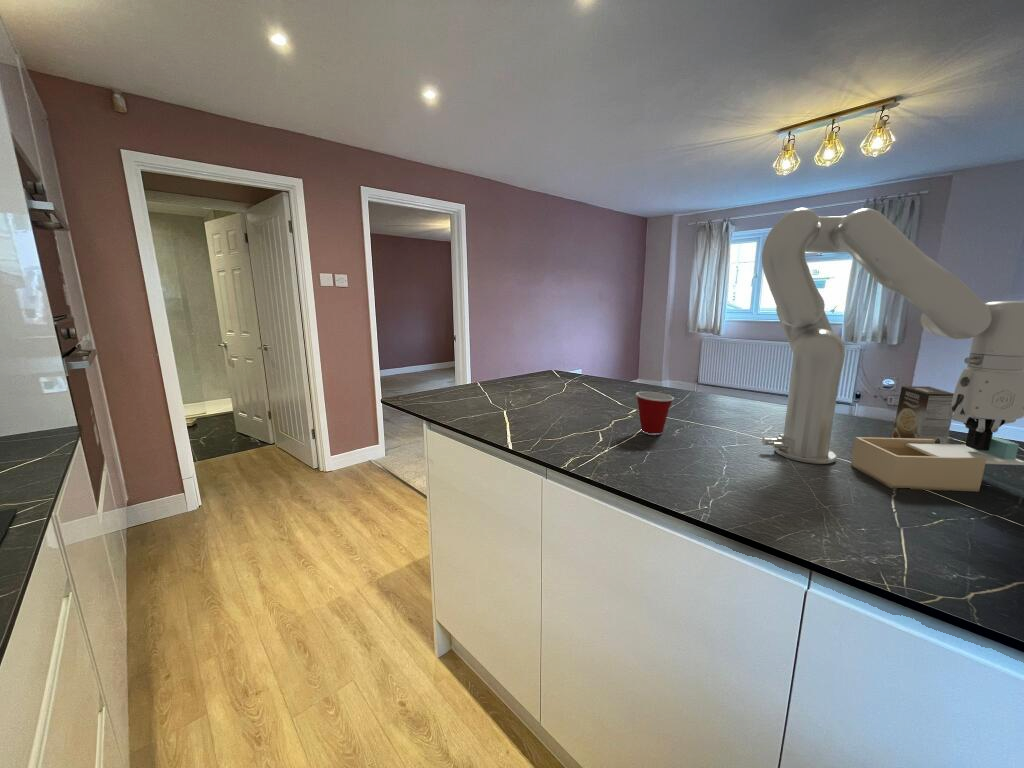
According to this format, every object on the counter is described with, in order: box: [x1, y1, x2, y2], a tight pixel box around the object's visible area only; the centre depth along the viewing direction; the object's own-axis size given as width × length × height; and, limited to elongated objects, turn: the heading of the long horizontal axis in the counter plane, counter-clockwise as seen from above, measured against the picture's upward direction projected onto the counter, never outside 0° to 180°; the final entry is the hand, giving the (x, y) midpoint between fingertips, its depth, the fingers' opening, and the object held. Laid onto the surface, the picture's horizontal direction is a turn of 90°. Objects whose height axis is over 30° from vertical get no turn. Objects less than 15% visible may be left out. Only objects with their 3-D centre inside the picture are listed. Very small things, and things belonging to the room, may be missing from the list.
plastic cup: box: [635, 391, 675, 433], centre depth 119 cm, size 11×11×12 cm
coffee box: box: [891, 385, 954, 444], centre depth 102 cm, size 9×6×16 cm
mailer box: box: [850, 436, 986, 492], centre depth 87 cm, size 16×12×7 cm
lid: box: [906, 435, 1024, 466], centre depth 85 cm, size 14×10×4 cm
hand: (976, 448), depth 85 cm, fingers closed
